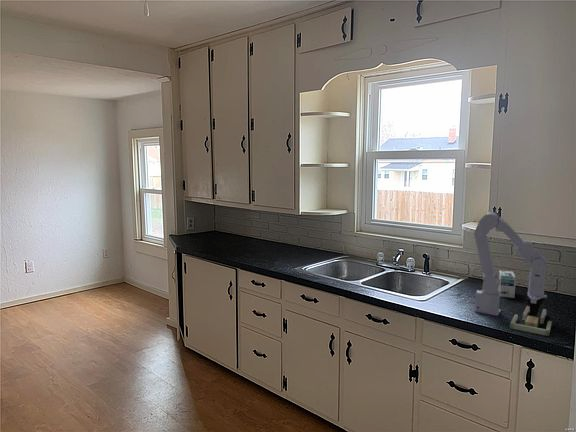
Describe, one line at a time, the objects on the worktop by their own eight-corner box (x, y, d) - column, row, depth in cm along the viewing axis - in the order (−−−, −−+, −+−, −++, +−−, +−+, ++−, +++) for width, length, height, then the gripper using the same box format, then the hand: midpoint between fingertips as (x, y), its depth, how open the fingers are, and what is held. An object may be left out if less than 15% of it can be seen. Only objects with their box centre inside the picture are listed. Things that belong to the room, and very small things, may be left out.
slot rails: (522, 319, 180) (522, 314, 180) (526, 311, 190) (526, 305, 190) (543, 324, 176) (543, 318, 176) (545, 314, 186) (546, 309, 185)
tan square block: (525, 325, 175) (526, 318, 175) (527, 322, 178) (527, 315, 178) (537, 327, 173) (537, 320, 173) (538, 324, 176) (538, 317, 176)
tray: (509, 328, 172) (510, 323, 172) (514, 318, 182) (514, 314, 181) (548, 336, 165) (549, 331, 164) (551, 326, 174) (551, 321, 174)
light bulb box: (514, 298, 207) (516, 276, 205) (499, 296, 209) (500, 275, 208) (512, 291, 217) (513, 271, 215) (497, 290, 219) (498, 269, 218)
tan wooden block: (524, 328, 172) (525, 321, 172) (525, 325, 175) (526, 318, 175) (535, 331, 170) (536, 323, 169) (537, 327, 173) (537, 320, 173)
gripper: (546, 290, 171) (543, 322, 173) (549, 281, 183) (546, 311, 185) (526, 287, 175) (523, 318, 177) (530, 278, 187) (527, 308, 189)
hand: (533, 314), depth 181 cm, fingers closed
